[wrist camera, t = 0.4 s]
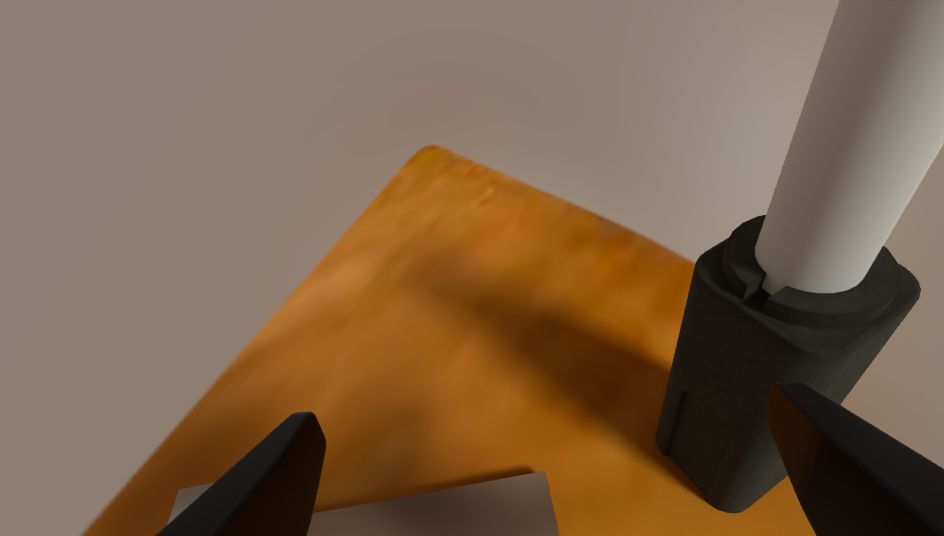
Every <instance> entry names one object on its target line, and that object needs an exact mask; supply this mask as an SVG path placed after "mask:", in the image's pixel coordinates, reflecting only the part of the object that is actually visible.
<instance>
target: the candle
mask: <svg viewBox="0 0 944 536" xmlns="http://www.w3.org/2000/svg"><path fill="white" fill-rule="evenodd" d="M943 144H944V0H840V1H839V4H838V7H837V10H836V13H835V16H834V18H833V22H832V24H831V27H830V30H829V33H828V36H827V39H826V42H825V45H824V48H823V51H822V53H821V56H820V59H819V62H818V65H817V68H816V71H815V74H814V77H813V80H812V83H811V86H810V89H809V91H808V94H807V98H806V100H805V103H804V106H803V109H802V112H801V115H800V118H799V121H798V124H797V127H796V130H795V132H794V136H793V138H792V141H791V144H790V147H789V150H788V153H787V156H786V159H785V162H784V165H783V168H782V170H781V174H780V176H779V179H778V182H777V186H776V188H775V192H774V195H773V197H772V200H771V203H770V206H769V209H768V211H767V214H766V215H763V216H758V217H756V218H753V219H751V220H749V221H746V222H744V223H742V224H741V225H740V226H739V227H738V228H736V229H735V230H734V231H733V232H732V234H731V236H730V237H729V238H727V239H726V240H724V241H723V242H721V243H719V244H717V245H716V246H714V247H712V248H711V249H709V250H708V251H706V252H704V254H702V255H701V256H700V257H699V259H698V260H697V262H696V264H695V268H694V272H693V277H692V281H691V285H690V290H689V294H688V298H687V302H686V307H685V311H684V315H683V320H682V324H681V328H680V333H679V337H678V341H677V346H676V350H675V354H674V359H673V363H672V367H671V372H670V376H669V380H668V385H667V389H666V393H665V398H664V402H663V406H662V411H661V415H660V419H659V424H658V428H657V433H656V442H657V445H658V448H659V449H660V451H661V452H662V453H663V455H664V456H670V457H671V458H672V459H673V460H674V461H675V463H676V464H677V465H678V466H679V467H680V468H681V469H682V470H683V471H684V472H685V473H686V474H687V475H688V476H689V477H690V478H691V479H692V480H693V481H694V483H695V484H696V485H697V486H698V487H699V488H700V489H701V490H702V491H703V492H704V493H705V494H706V497H705V499H706V500H707V501H708V502H709V503H710V504H711V505H712V506H714V507H715V508H717V509H719V510H721V511H724V512H727V513H738V512H742V511H744V510H746V509H747V508H749V507H750V506H751V505H752V504H753V503H755V502H756V501H757V500H758V499H760V498H761V497H762V496H763V495H764V494H766V493H767V492H768V491H769V490H770V489H772V488H773V487H774V486H775V485H777V484H778V483H779V482H780V481H781V480H783V479H784V478H785V477H786V476H787V475H788V473H787V471H786V469H785V466H784V464H783V461H782V459H781V456H780V454H779V451H778V449H777V446H776V444H775V441H774V439H773V437H772V434H771V432H770V429H769V427H768V424H767V419H766V411H767V406H768V401H769V397H770V392H771V388H772V385H773V384H774V383H775V382H777V381H790V380H798V381H801V382H803V383H805V384H806V385H808V386H810V387H811V388H813V389H815V390H816V391H818V392H819V393H821V394H823V395H824V396H826V397H828V398H829V399H831V400H833V401H834V402H836V403H837V404H839V405H840V404H841V403H842V402H843V400H844V399H845V398H846V396H847V395H848V394H849V392H850V391H851V389H852V388H853V387H854V385H855V384H856V383H857V381H858V380H859V379H860V377H861V376H862V374H863V373H864V372H865V371H866V369H867V368H868V367H869V365H870V364H871V363H872V361H873V360H874V358H875V357H876V356H877V354H878V353H879V352H880V350H881V349H882V348H883V346H884V345H885V344H886V342H887V341H888V340H889V338H890V337H891V335H892V334H893V333H894V332H895V330H896V329H897V327H898V326H899V325H900V323H901V322H902V321H903V319H904V318H905V317H906V315H907V314H908V313H909V311H910V310H911V309H912V307H913V306H914V305H915V303H916V302H917V300H918V299H919V296H920V291H921V288H920V285H919V282H918V280H917V279H916V278H915V276H914V275H913V274H912V273H911V272H910V271H908V270H907V269H906V268H905V267H903V266H902V265H900V264H898V263H897V262H896V260H895V259H894V258H893V256H892V255H891V253H890V252H889V250H888V249H887V248H886V247H884V246H883V245H884V243H885V241H886V240H887V238H888V236H889V235H890V233H891V231H892V230H893V228H894V226H895V225H896V223H897V221H898V219H899V218H900V216H901V214H902V213H903V211H904V209H905V208H906V206H907V204H908V203H909V201H910V199H911V198H912V196H913V194H914V192H915V191H916V189H917V187H918V186H919V184H920V182H921V181H922V179H923V177H924V175H925V174H926V172H927V171H928V169H929V167H930V165H931V164H932V162H933V160H934V159H935V157H936V155H937V153H938V152H939V150H940V149H941V147H942V145H943Z"/></svg>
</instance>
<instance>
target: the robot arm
mask: <svg viewBox="0 0 944 536" xmlns="http://www.w3.org/2000/svg"><path fill="white" fill-rule="evenodd" d="M766 419H767V424H768V427H769V429H770V432H771V434H772V437H773V439H774V441H775V444H776V446H777V449H778V451H779V454H780V456H781V459H782V461H783V464H784V466H785V469H786V471H787V473H788V476H789V478H790V481H791V483H792V486H793V488H794V491H795V493H796V495H797V498H798V500H799V502H800V505H801V507H802V509H803V511H804V513H805V515H806V517H807V519H808V520H809V522H810V524H811V526H812V528H813V530H814V532H815V534H816V535H817V536H944V469H943V468H941V467H940V466H938V465H937V464H935V463H933V462H931V461H930V460H928V459H927V458H925V457H923V456H922V455H920V454H919V453H917V452H915V451H914V450H912V449H911V448H909V447H907V446H906V445H904V444H902V443H901V442H899V441H898V440H896V439H894V438H893V437H891V436H889V435H888V434H886V433H884V432H883V431H881V430H880V429H878V428H876V427H875V426H873V425H872V424H870V423H868V422H867V421H865V420H863V419H862V418H860V417H859V416H857V415H855V414H854V413H852V412H850V411H849V410H847V409H846V408H844V407H842V406H841V405H839V404H837V403H836V402H834V401H833V400H831V399H829V398H828V397H826V396H824V395H823V394H821V393H819V392H818V391H816V390H815V389H813V388H811V387H810V386H808V385H806V384H805V383H803V382H801V381H798V380H790V381H777V382H775V383H774V384H773V385H772V388H771V392H770V397H769V401H768V406H767V411H766ZM325 451H326V439H325V436H324V434H323V431H322V429H321V427H320V425H319V422H318V420H317V418H316V416H315V414H314V413H312V412H296V413H293V414H291V415H290V416H289V417H288V418H287V419H285V420H284V421H283V422H282V423H281V424H280V425H279V426H278V427H276V428H275V429H274V430H273V431H272V432H271V433H270V434H269V435H267V436H266V437H265V438H264V439H263V440H262V441H261V442H260V443H258V444H257V445H256V446H255V447H254V448H253V449H252V450H251V451H250V452H248V453H247V454H246V455H245V456H244V457H243V458H242V459H241V460H239V461H238V462H237V463H236V464H235V465H234V466H233V467H232V468H230V469H229V470H228V471H227V472H226V473H225V474H224V475H223V476H221V477H220V478H219V479H218V480H217V481H216V482H215V483H214V484H212V485H211V486H210V487H209V488H208V489H207V490H206V491H205V492H203V493H202V494H201V495H200V496H199V497H198V498H197V499H196V500H195V501H193V502H192V503H191V504H190V505H189V506H188V507H187V508H186V509H184V510H183V511H182V512H181V513H180V514H179V515H178V516H177V517H175V518H174V519H173V520H172V521H171V522H170V523H169V524H168V525H166V526H165V527H164V528H163V529H162V530H161V531H160V532H159V533H157V534H156V535H155V536H307V533H308V529H309V526H310V523H311V518H312V514H313V510H314V505H315V500H316V495H317V490H318V486H319V481H320V476H321V471H322V466H323V461H324V456H325Z"/></svg>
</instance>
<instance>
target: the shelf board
mask: <svg viewBox="0 0 944 536" xmlns="http://www.w3.org/2000/svg"><path fill="white" fill-rule="evenodd" d="M212 484H214V483H210V484H204V485H199V486H194V487H188V488H183V489H179V490H178V493H177V496H176V499H175V502H174V505H173V508H172V511H171V514H170V517H169V520H168V524H169V523H170V522H171V521H172V520H173V519H174V518H175V517H177V516H178V515H179V514H180V513H181V512H182V511H183V510H184V509H186V508H187V507H188V506H189V505H190V504H191V503H192V502H193V501H195V500H196V499H197V498H198V497H199V496H200V495H201V494H202V493H203V492H205V491H206V490H207V489H208V488H209V487H210V486H211V485H212ZM168 524H167V525H168ZM307 536H559V532H558V527H557V523H556V518H555V514H554V510H553V505H552V501H551V496H550V492H549V487H548V483H547V478H546V474H545V471H542V472H536V473H531V474H525V475H520V476H514V477H509V478H503V479H498V480H492V481H487V482H481V483H476V484H470V485H465V486H459V487H454V488H448V489H443V490H437V491H432V492H427V493H421V494H416V495H410V496H405V497H399V498H394V499H388V500H383V501H377V502H372V503H366V504H361V505H355V506H350V507H344V508H339V509H333V510H328V511H322V512H317V513H313V514H312V518H311V523H310V526H309V529H308V533H307Z"/></svg>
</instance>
